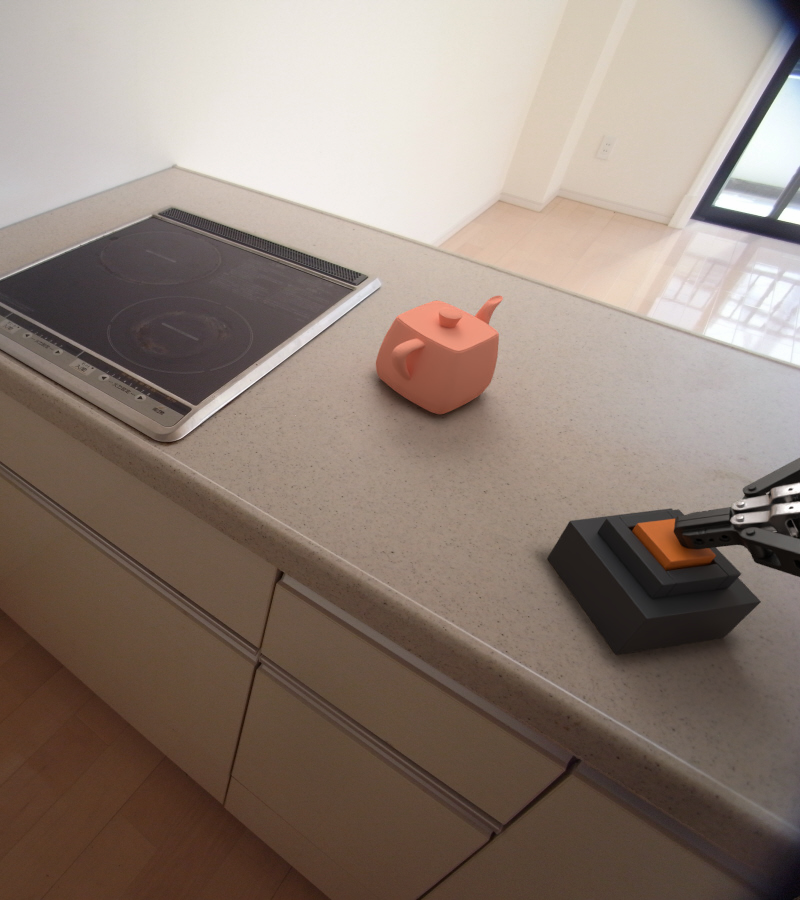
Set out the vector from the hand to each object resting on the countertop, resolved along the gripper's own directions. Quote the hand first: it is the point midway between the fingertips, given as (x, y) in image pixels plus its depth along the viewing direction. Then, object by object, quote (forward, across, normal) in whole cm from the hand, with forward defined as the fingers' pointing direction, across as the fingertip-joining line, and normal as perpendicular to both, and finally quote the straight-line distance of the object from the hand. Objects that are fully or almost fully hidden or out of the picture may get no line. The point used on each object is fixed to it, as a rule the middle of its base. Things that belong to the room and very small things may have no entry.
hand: (678, 533), depth 51 cm
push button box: (+6, 0, +6) cm, 8 cm away
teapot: (+24, -21, -11) cm, 33 cm away
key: (+2, 0, +2) cm, 3 cm away
